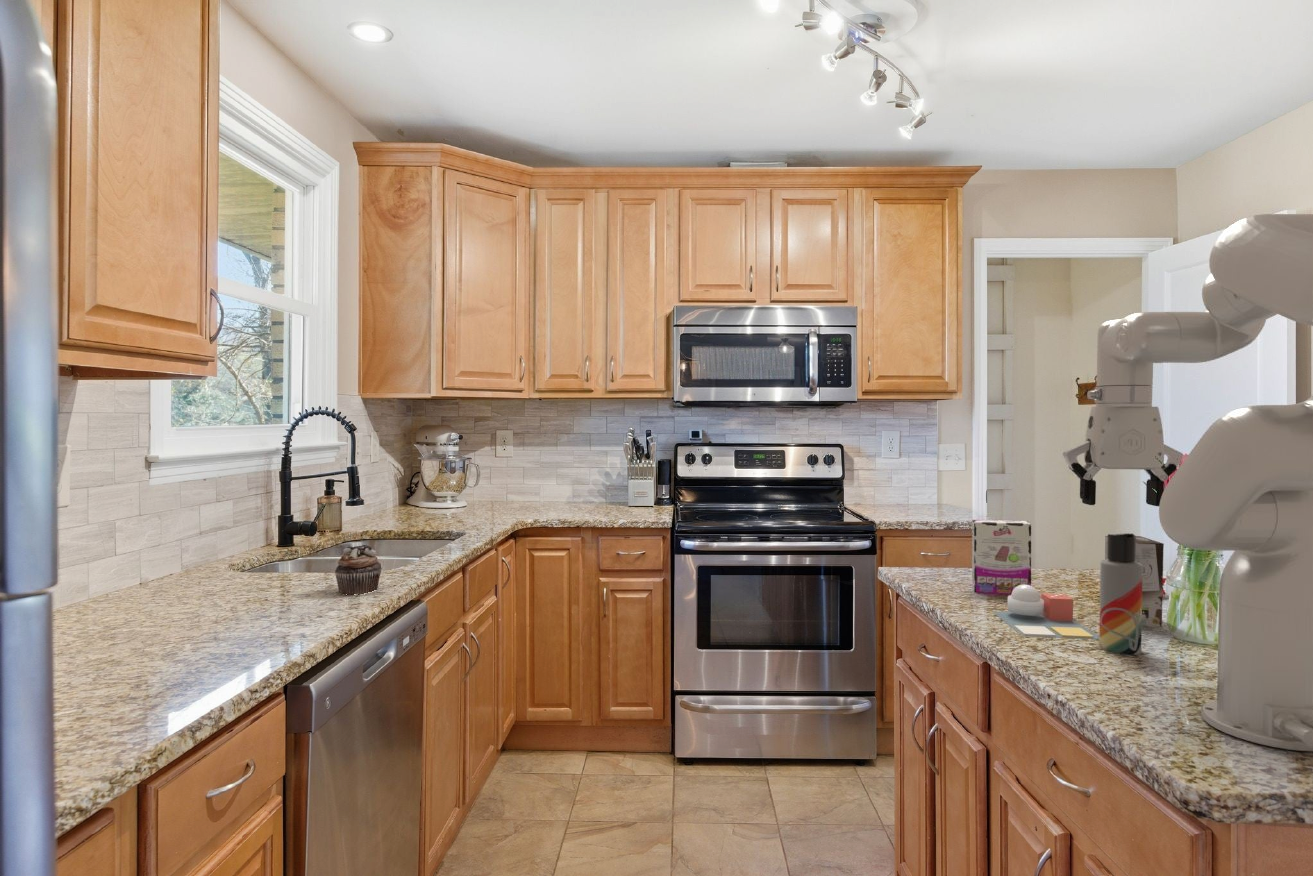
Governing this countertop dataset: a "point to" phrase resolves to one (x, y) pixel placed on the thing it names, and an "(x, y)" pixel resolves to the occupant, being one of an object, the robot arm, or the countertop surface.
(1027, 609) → the dome
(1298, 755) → the countertop surface
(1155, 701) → the countertop surface
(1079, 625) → the game board
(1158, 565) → the coffee box
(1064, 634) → the pad
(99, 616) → the countertop surface
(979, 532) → the candy bar box
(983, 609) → the countertop surface
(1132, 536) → the lotion bottle
